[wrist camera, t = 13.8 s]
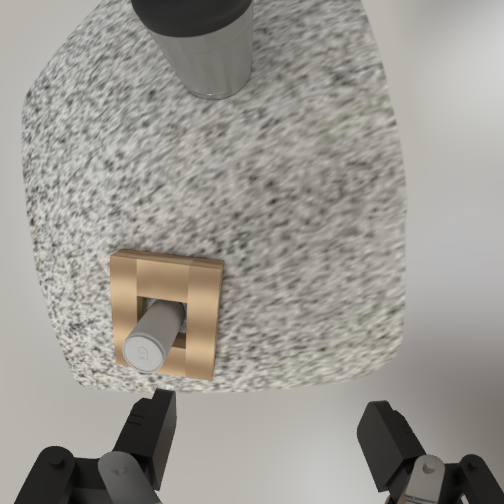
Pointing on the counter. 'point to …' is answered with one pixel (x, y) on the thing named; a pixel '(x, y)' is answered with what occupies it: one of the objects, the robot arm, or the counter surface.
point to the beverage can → (153, 336)
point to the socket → (174, 289)
